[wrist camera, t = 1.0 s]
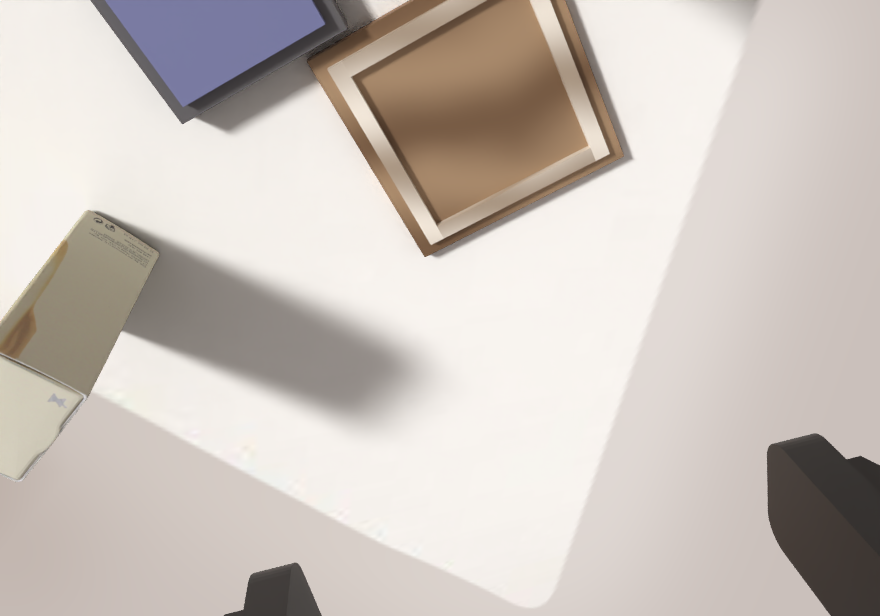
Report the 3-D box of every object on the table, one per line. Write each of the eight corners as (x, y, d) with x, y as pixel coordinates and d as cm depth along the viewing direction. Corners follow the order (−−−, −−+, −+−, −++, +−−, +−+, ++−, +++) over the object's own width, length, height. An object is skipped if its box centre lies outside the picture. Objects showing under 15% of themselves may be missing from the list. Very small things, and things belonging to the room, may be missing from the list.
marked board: (307, 58, 34) (306, 63, 33) (535, -73, 32) (540, -71, 31) (423, 252, 40) (425, 260, 39) (620, 152, 38) (626, 158, 37)
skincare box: (87, 204, 36) (-18, 337, 26) (164, 251, 38) (94, 393, 28) (29, 289, 38) (-89, 443, 28) (104, 330, 40) (19, 488, 30)
